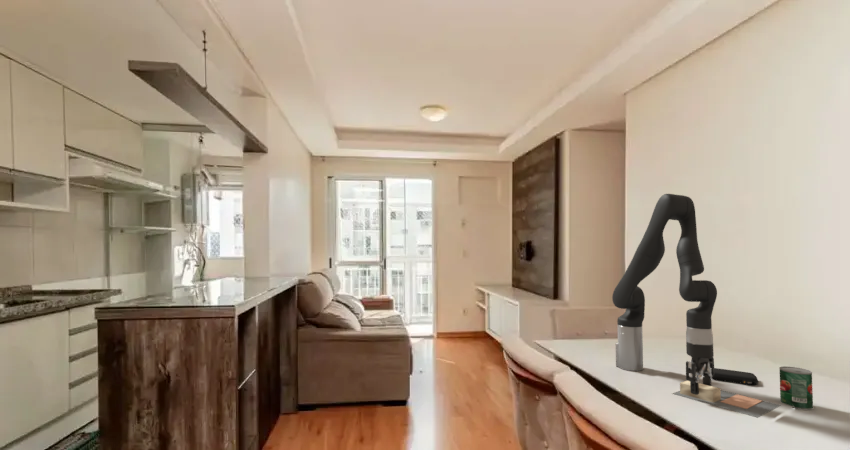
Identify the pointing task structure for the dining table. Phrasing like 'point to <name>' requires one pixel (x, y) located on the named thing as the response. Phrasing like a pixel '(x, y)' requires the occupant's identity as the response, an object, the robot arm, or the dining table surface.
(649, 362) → the dining table surface
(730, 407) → the mat
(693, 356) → the robot arm
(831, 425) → the dining table surface
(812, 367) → the dining table surface
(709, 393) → the block
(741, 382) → the carrying case or bag
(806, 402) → the canned tomato
